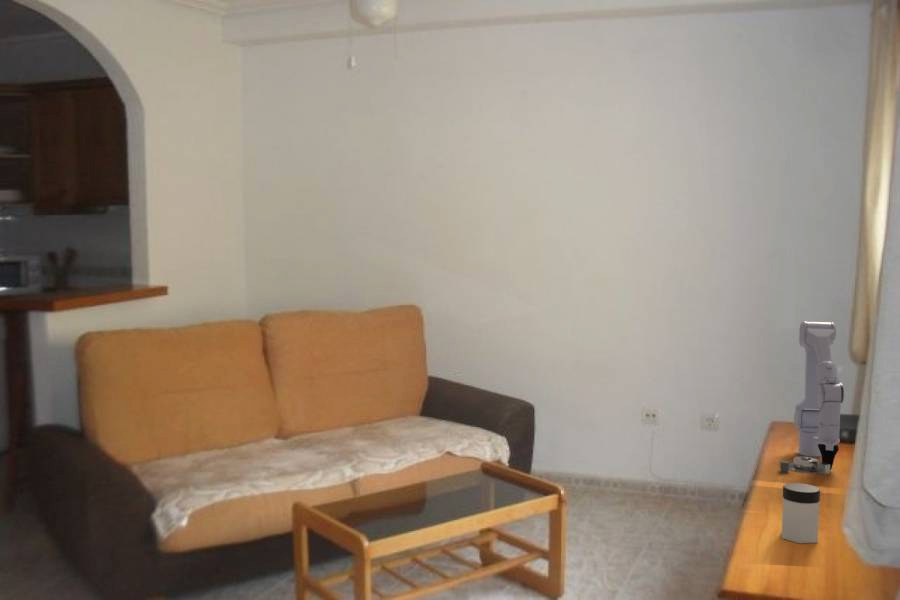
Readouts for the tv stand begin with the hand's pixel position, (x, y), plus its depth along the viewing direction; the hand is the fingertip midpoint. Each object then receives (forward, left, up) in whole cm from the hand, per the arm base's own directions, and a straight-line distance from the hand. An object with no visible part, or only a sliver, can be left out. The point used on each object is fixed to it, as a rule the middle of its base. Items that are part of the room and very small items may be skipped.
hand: (827, 469), depth 271 cm
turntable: (-1, -6, -2) cm, 6 cm away
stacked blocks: (+7, -12, -2) cm, 14 cm away
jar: (+64, -9, -2) cm, 64 cm away
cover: (-1, -6, -1) cm, 6 cm away
